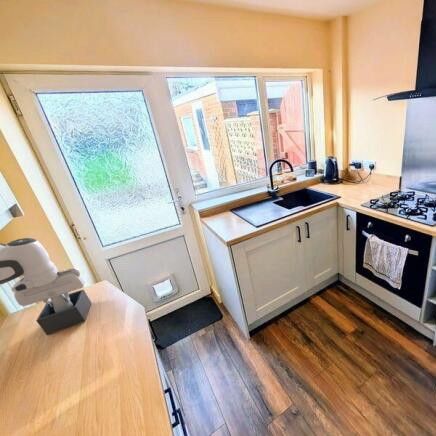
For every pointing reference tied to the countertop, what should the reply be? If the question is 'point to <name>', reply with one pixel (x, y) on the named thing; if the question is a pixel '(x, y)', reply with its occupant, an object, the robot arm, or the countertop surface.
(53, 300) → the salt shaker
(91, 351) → the countertop surface
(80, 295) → the bin
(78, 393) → the countertop surface
